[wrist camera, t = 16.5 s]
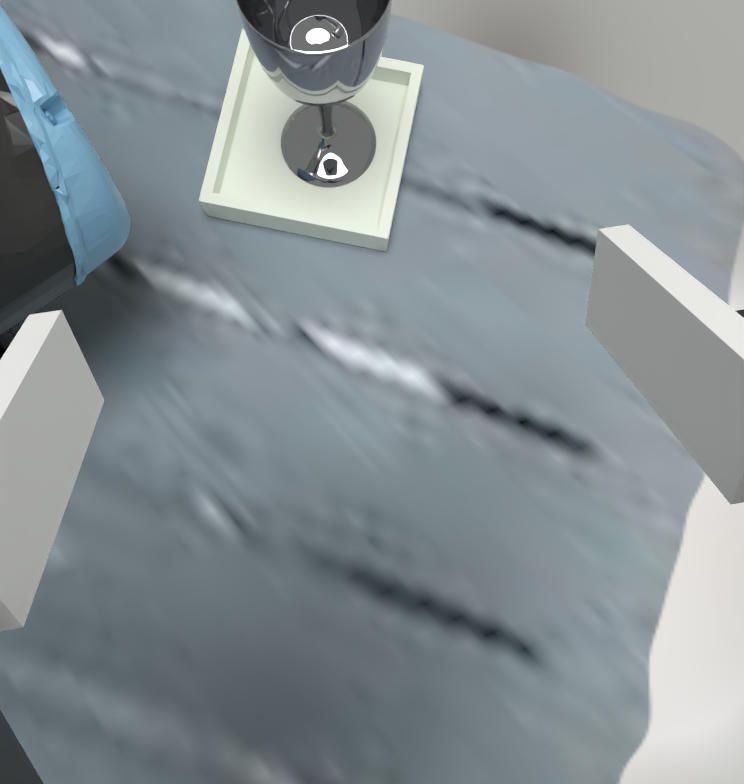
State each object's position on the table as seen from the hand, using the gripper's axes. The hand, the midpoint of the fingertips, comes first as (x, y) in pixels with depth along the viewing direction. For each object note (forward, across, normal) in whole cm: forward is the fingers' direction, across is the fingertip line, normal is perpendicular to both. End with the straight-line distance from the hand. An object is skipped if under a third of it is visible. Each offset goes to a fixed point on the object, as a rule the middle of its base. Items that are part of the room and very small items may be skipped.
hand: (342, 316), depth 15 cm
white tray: (+35, 0, -6) cm, 35 cm away
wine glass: (+34, +2, -5) cm, 34 cm away
